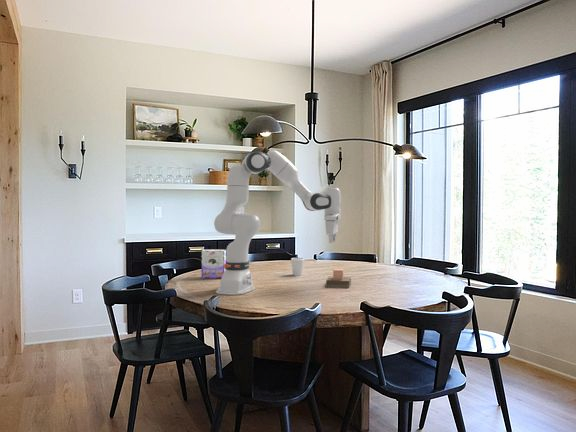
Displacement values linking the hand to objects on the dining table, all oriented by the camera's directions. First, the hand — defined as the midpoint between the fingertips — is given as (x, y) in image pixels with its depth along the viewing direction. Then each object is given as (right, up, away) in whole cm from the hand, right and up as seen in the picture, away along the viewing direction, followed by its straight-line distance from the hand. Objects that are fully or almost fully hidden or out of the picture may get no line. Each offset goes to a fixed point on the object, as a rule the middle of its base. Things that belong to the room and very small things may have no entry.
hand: (332, 242), depth 254 cm
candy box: (-67, -22, +21) cm, 74 cm away
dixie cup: (-18, -22, +31) cm, 42 cm away
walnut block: (+3, -24, -2) cm, 24 cm away
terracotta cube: (+3, -20, -2) cm, 20 cm away
